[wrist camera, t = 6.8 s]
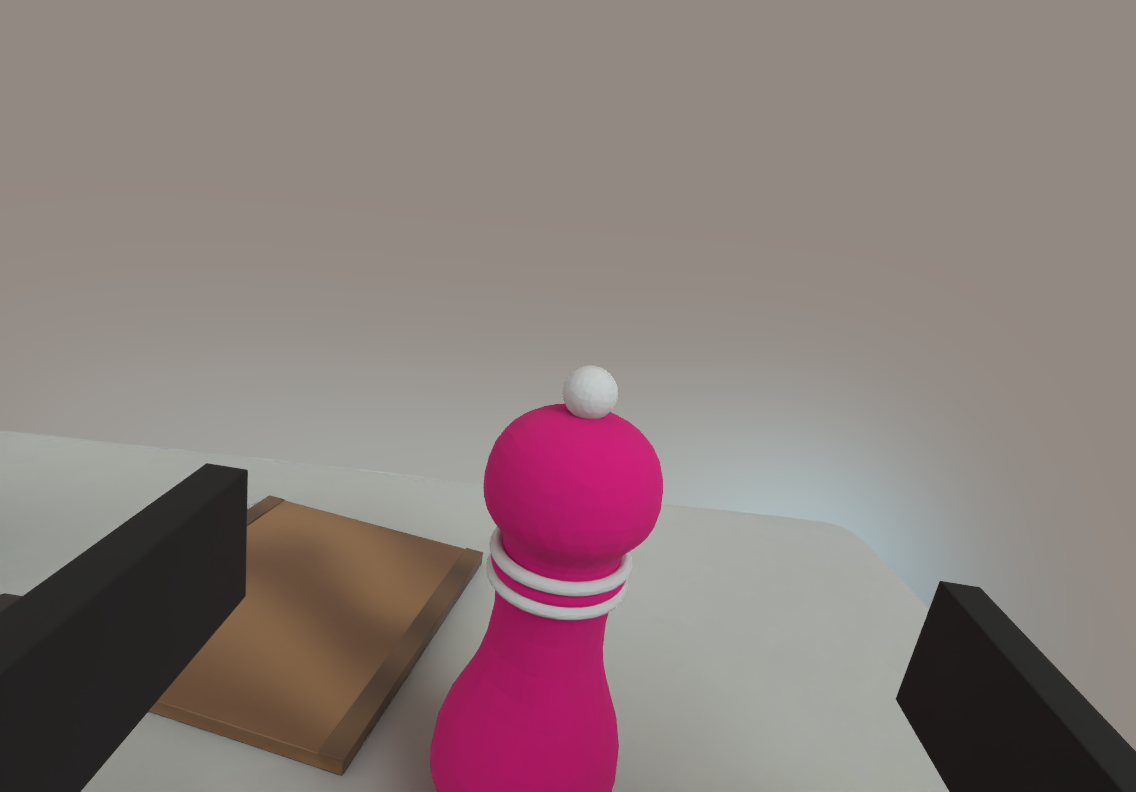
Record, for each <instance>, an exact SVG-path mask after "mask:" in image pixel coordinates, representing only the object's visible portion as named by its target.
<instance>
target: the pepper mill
mask: <svg viewBox="0 0 1136 792" xmlns="http://www.w3.org/2000/svg"><path fill="white" fill-rule="evenodd" d="M617 396H618V389H617V386H616V383H615V380H614V379H613V377H611V375H610V374H609V372H608V371H606V370H605V369H603V368H600V367H598V366H592V365H588V366H583V367H580V368H578V369H576V370H575V371H573V372H572V373H571V374H570V375H569V376H568V378H567V379H566V381H565V383H564V387H563V398H564V401H565V404H555V405H549V406H544V407H541V408H538V409H535V410H532V411H529V412H527V413H525V414H523V415H522V416H520V417H519V418H517V419H515V420H514V421H513V422H512V423H511V424H510V425H509V426H507V428H506V429H505V430H504V431H503V432H502V434H501V435H500V436H499V437H498V439H497V440H496V442H495V444H494V446H493V449H492V451H491V453H490V456H489V459H488V463H487V466H486V470H485V476H484V497H485V501H486V506H487V509H488V511H489V513H490V515H491V517H492V519H493V520H494V522H495V524H496V525H497V528H496V529H495V530H494V531H493V533H492V535H491V538H490V551H491V553H490V555H489V557H488V559H487V565H486V570H487V575H488V578H489V581H490V583H491V585H492V586H493V587H494V589H495V603H494V607H493V611H492V614H491V618H490V622H489V626H488V629H487V632H486V634H485V636H484V638H483V641H482V643H481V645H480V647H479V649H478V651H477V652H476V654H475V655H474V657H473V658H472V660H471V661H470V662H469V664H468V665H467V666H466V668H465V669H464V670H463V671H462V673H461V674H460V675H459V677H458V678H457V679H456V681H455V682H454V683H453V685H452V687H451V689H450V691H449V693H448V695H447V697H446V699H445V701H444V703H443V705H442V707H441V709H440V711H439V714H438V718H437V722H436V726H435V731H434V735H433V739H432V744H431V753H430V765H431V772H432V778H433V781H434V784H435V786H436V789H437V792H612V788H613V785H614V781H615V774H616V766H617V758H618V748H619V744H618V733H617V722H616V716H615V711H614V707H613V703H612V700H611V696H610V692H609V688H608V684H607V680H606V675H605V670H604V664H603V641H604V632H605V624H606V620H607V616H608V613H609V612H610V611H611V610H613V609H615V608H616V607H617V606H618V605H619V604H620V603H621V602H622V600H623V599H624V597H625V595H626V592H627V584H628V582H627V578H628V576H629V575H630V573H631V569H632V556H631V553H630V551H631V550H632V549H634V548H635V547H637V546H638V545H639V544H641V543H642V542H643V541H644V540H645V539H646V538H647V537H648V535H649V534H650V532H651V531H652V530H653V528H654V526H655V523H656V521H657V518H658V515H659V513H660V510H661V502H662V494H663V478H662V472H661V466H660V461H659V459H658V457H657V455H656V453H655V450H654V448H653V446H652V445H651V444H650V442H649V441H648V440H647V439H646V437H645V436H644V435H643V434H642V433H641V432H640V430H639V429H637V428H636V427H635V426H634V425H632V424H631V423H630V422H628V421H626V420H624V419H623V418H621V417H619V416H618V415H615V414H613V413H611V412H610V411H611V410H612V409H613V407H614V405H615V403H616V401H617Z"/></svg>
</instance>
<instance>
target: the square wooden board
mask: <svg viewBox="0 0 1136 792" xmlns="http://www.w3.org/2000/svg"><path fill="white" fill-rule="evenodd" d="M482 556H483V552H479V551H476V550H472V549H468V548H466V549H463V548H459V547H455V546H452V545H448V544H444V543H440V542H437V541H433V540H429V539H426V538H422V537H418V536H414V535H411V534H407V533H403V532H399V531H396V530H392V529H388V528H385V527H381V526H377V525H373V524H370V523H366V522H362V521H358V520H355V519H351V518H347V517H344V516H340V515H336V514H332V513H329V512H325V511H321V510H317V509H314V508H310V507H306V506H303V505H299V504H295V503H291V502H288V501H284V499H281V498H277V497H273V496H268V497H266V498H265V499H263V500H262V501H260V502H259V503H257V504H256V505H254V506H253V507H251V508H250V509H248V510H247V546H246V596H245V598H244V599H243V600H242V601H241V602H240V604H239V605H238V606H237V607H236V608H235V609H234V611H233V612H232V613H231V614H230V615H229V617H228V618H227V619H226V620H225V621H224V622H223V624H222V625H221V626H220V627H219V628H218V630H217V631H216V632H215V633H214V634H213V635H212V637H211V638H210V639H209V640H208V641H207V643H206V644H205V645H204V646H203V647H202V648H201V650H200V651H199V652H198V653H197V654H196V656H195V657H194V658H193V659H192V660H191V661H190V663H189V664H188V665H187V666H186V667H185V669H184V670H183V671H182V672H181V673H180V674H179V676H178V677H177V678H176V679H175V680H174V682H173V683H172V684H171V685H170V686H169V687H168V689H167V690H166V691H165V692H164V693H163V695H162V696H161V697H160V698H159V699H158V700H157V702H156V703H155V704H154V705H153V706H152V708H151V709H150V710H149V711H150V712H153V713H156V714H159V715H162V716H165V717H168V718H171V719H174V720H177V721H180V722H183V723H186V724H189V725H192V726H195V727H198V728H201V729H204V730H207V731H210V732H213V733H216V734H219V735H222V736H225V737H228V738H231V739H234V740H237V741H240V742H243V743H246V744H249V745H252V746H255V747H258V748H261V749H264V750H267V751H270V752H273V753H276V754H279V755H282V756H285V757H288V758H291V759H294V760H297V761H300V762H303V763H306V764H309V765H312V766H315V767H318V768H321V769H324V770H327V771H330V772H333V773H336V774H339V775H343V774H344V772H345V771H346V769H347V768H348V766H349V764H350V763H351V761H352V760H353V758H354V757H355V755H356V754H357V752H358V751H359V749H360V748H361V746H362V745H363V743H364V742H365V740H366V739H367V737H368V736H369V734H370V732H371V731H372V729H373V728H374V726H375V725H376V723H377V722H378V720H379V719H380V717H381V716H382V714H383V713H384V711H385V710H386V708H387V707H388V705H389V704H390V702H391V700H392V699H393V697H394V696H395V694H396V693H397V691H398V690H399V688H400V687H401V685H402V684H403V682H404V681H405V679H406V678H407V676H408V675H409V673H410V672H411V670H412V668H413V667H414V665H415V664H416V662H417V661H418V659H419V658H420V656H421V655H422V653H423V652H424V650H425V649H426V647H427V646H428V644H429V643H430V641H431V640H432V638H433V637H434V635H435V633H436V632H437V630H438V629H439V627H440V626H441V624H442V623H443V621H444V620H445V618H446V617H447V615H448V614H449V612H450V611H451V609H452V608H453V606H454V605H455V603H456V601H457V600H458V598H459V597H460V595H461V594H462V592H463V591H464V589H465V588H466V586H467V585H468V583H469V582H470V580H471V579H472V577H473V576H474V574H475V573H476V571H477V569H478V568H479V566H480V565H481V563H482Z"/></svg>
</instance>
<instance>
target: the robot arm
mask: <svg viewBox="0 0 1136 792" xmlns="http://www.w3.org/2000/svg"><path fill="white" fill-rule="evenodd" d="M247 478H248V470H245V469H239V468H232V467H226V466H220V465H214V464H205V465H204V466H202V467H201V468H200V469H198V470H197V471H196V472H194V473H193V474H191V475H190V476H189V477H187V478H186V479H184V480H183V481H182V482H180V483H179V484H178V485H176V486H175V487H173V488H172V489H171V490H169V491H168V492H166V493H165V494H164V495H162V496H161V497H160V498H158V499H157V500H155V501H154V502H153V503H151V504H150V505H148V506H147V507H146V508H144V509H143V510H142V511H140V512H139V513H137V514H136V515H135V516H133V517H132V518H130V519H129V520H128V521H126V522H125V523H124V524H122V525H121V526H119V527H118V528H117V529H115V530H114V531H112V532H111V533H110V534H108V535H107V536H106V537H104V538H103V539H101V540H100V541H99V542H97V543H96V544H94V545H93V546H92V547H90V548H89V549H88V550H86V551H85V552H83V553H82V554H81V555H79V556H78V557H76V558H75V559H74V560H72V561H71V562H70V563H68V564H67V565H65V566H64V567H63V568H61V569H60V570H58V571H57V572H56V573H54V574H53V575H52V576H50V577H49V578H47V579H46V580H45V581H43V582H42V583H40V584H39V585H38V586H36V587H35V588H34V589H32V590H31V591H29V592H28V593H27V594H25V595H24V596H17V595H11V594H1V595H0V792H81V790H82V789H83V788H84V787H85V786H86V784H87V783H88V782H89V781H90V780H91V779H92V777H93V776H94V775H95V774H96V773H97V771H98V770H99V769H100V768H101V767H102V766H103V764H104V763H105V762H106V761H107V760H108V758H109V757H110V756H111V755H112V754H113V753H114V751H115V750H116V749H117V748H118V747H119V745H120V744H121V743H122V742H123V741H124V740H125V738H126V737H127V736H128V735H129V734H130V732H131V731H132V730H133V729H134V728H135V727H136V725H137V724H138V723H139V722H140V721H141V719H142V718H143V717H144V716H145V715H146V713H147V712H148V711H149V710H150V709H151V708H152V706H153V705H154V704H155V703H156V702H157V700H158V699H159V698H160V697H161V696H162V695H163V693H164V692H165V691H166V690H167V689H168V687H169V686H170V685H171V684H172V683H173V682H174V680H175V679H176V678H177V677H178V676H179V674H180V673H181V672H182V671H183V670H184V669H185V667H186V666H187V665H188V664H189V663H190V661H191V660H192V659H193V658H194V657H195V656H196V654H197V653H198V652H199V651H200V650H201V648H202V647H203V646H204V645H205V644H206V643H207V641H208V640H209V639H210V638H211V637H212V635H213V634H214V633H215V632H216V631H217V630H218V628H219V627H220V626H221V625H222V624H223V622H224V621H225V620H226V619H227V618H228V617H229V615H230V614H231V613H232V612H233V611H234V609H235V608H236V607H237V606H238V605H239V604H240V602H241V601H242V600H243V599H244V598H245V596H246V546H247ZM896 700H897V702H898V704H899V706H900V707H901V709H902V711H903V713H904V714H905V716H906V718H907V719H908V721H909V723H910V725H911V726H912V728H913V730H914V731H915V733H916V735H917V737H918V738H919V740H920V742H921V743H922V745H923V747H924V749H925V750H926V752H927V754H928V756H929V757H930V759H931V761H932V762H933V764H934V766H935V768H936V769H937V771H938V773H939V774H940V776H941V778H942V780H943V781H944V783H945V785H946V786H947V788H948V790H949V792H1136V751H1135V750H1134V749H1133V748H1132V747H1131V746H1130V745H1129V744H1128V743H1127V742H1126V741H1125V740H1124V739H1123V738H1122V736H1121V735H1120V734H1119V733H1118V732H1117V731H1116V730H1115V729H1114V728H1113V727H1112V726H1111V725H1110V724H1109V723H1108V722H1107V721H1106V720H1105V719H1104V718H1103V716H1102V715H1101V714H1099V712H1098V711H1097V710H1096V709H1095V708H1094V707H1093V706H1092V705H1091V704H1090V703H1089V702H1088V701H1087V700H1086V699H1085V698H1084V696H1083V695H1082V694H1081V693H1080V692H1079V691H1078V690H1077V689H1076V688H1075V687H1074V686H1073V685H1072V684H1071V683H1070V682H1069V681H1068V680H1067V679H1066V678H1065V677H1064V675H1063V674H1062V673H1061V672H1060V671H1059V670H1058V669H1057V668H1056V667H1055V666H1054V665H1053V664H1052V663H1051V662H1050V661H1049V660H1048V659H1047V658H1046V656H1044V654H1043V653H1042V652H1041V651H1040V650H1039V649H1038V648H1037V647H1036V646H1035V645H1034V644H1033V643H1032V642H1031V641H1030V640H1029V639H1028V638H1027V637H1026V635H1024V633H1023V632H1022V631H1021V630H1020V629H1019V628H1018V627H1017V626H1016V625H1015V624H1014V623H1013V622H1012V621H1011V620H1010V619H1009V618H1008V616H1007V615H1006V614H1005V613H1004V612H1003V611H1002V610H1001V609H1000V608H999V607H998V606H997V605H996V604H995V603H994V602H993V601H992V600H991V599H990V598H989V596H988V595H987V594H986V593H985V592H984V591H983V590H982V589H981V588H980V587H974V586H968V585H962V584H956V583H949V582H943V581H940V582H939V585H938V588H937V590H936V593H935V596H934V598H933V601H932V604H931V607H930V609H929V612H928V614H927V617H926V620H925V622H924V625H923V628H922V630H921V633H920V636H919V638H918V641H917V644H916V646H915V649H914V652H913V654H912V657H911V660H910V662H909V665H908V668H907V670H906V673H905V676H904V678H903V681H902V684H901V686H900V689H899V692H898V694H897V697H896Z"/></svg>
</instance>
